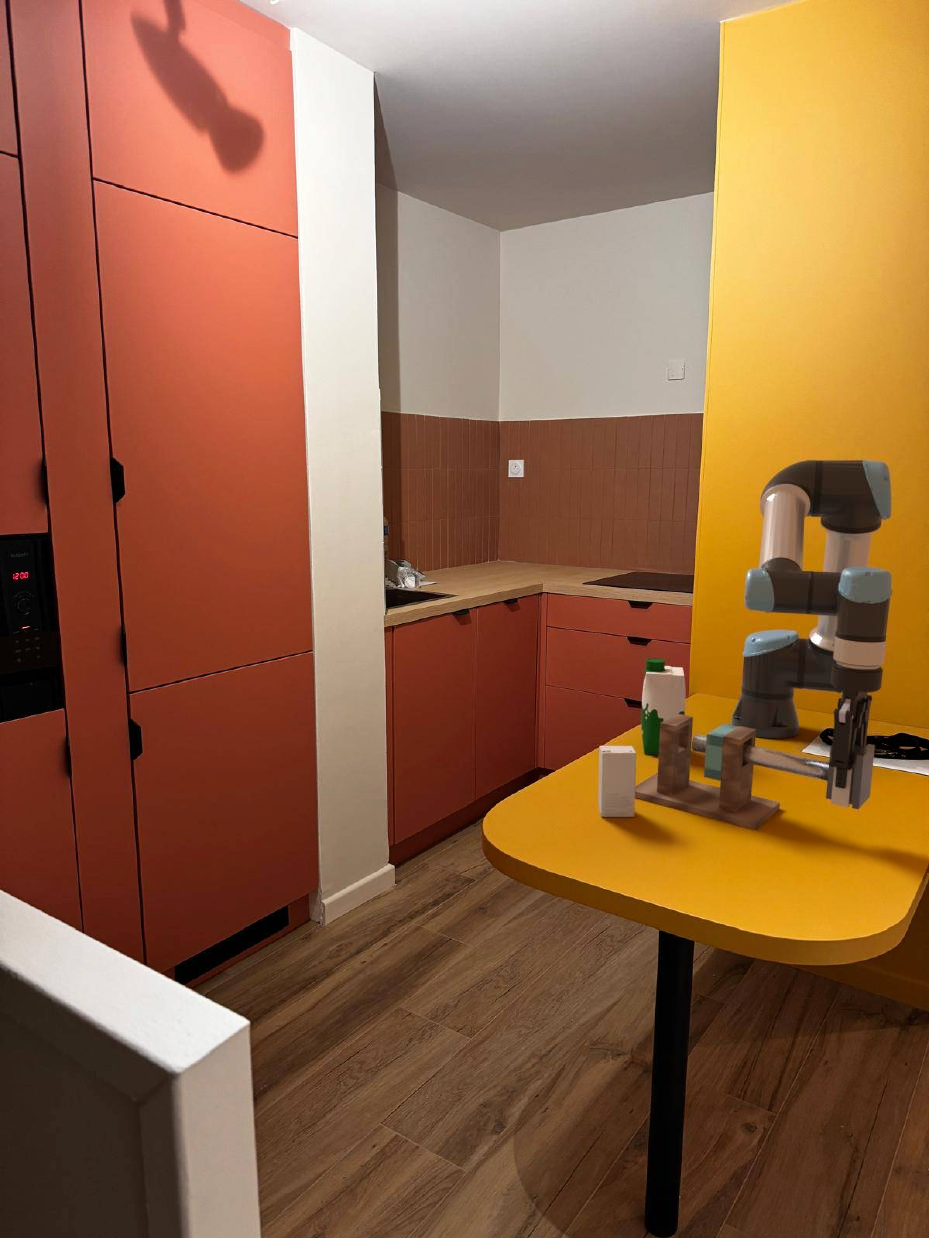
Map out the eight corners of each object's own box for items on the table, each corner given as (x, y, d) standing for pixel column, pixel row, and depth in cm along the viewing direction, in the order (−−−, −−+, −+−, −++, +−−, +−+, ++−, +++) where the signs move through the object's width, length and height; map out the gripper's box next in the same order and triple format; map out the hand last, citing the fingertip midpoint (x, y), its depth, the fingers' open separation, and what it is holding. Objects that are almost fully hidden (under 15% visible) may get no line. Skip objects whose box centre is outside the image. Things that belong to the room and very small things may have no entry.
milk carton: (639, 742, 194) (644, 655, 190) (681, 745, 192) (686, 657, 189) (639, 755, 186) (644, 664, 182) (683, 758, 184) (688, 666, 180)
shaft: (686, 768, 158) (688, 720, 156) (701, 758, 163) (704, 712, 162) (858, 809, 140) (863, 756, 138) (869, 796, 145) (874, 745, 144)
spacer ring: (704, 776, 155) (706, 734, 154) (721, 765, 161) (724, 723, 160) (720, 780, 153) (723, 737, 152) (737, 768, 160) (740, 726, 158)
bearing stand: (629, 795, 163) (632, 721, 160) (657, 778, 172) (661, 707, 170) (755, 829, 148) (761, 748, 146) (779, 808, 158) (785, 731, 155)
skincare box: (630, 808, 157) (633, 744, 155) (635, 818, 153) (638, 752, 150) (596, 808, 157) (598, 744, 155) (599, 818, 153) (602, 752, 151)
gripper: (848, 651, 149) (835, 780, 153) (817, 669, 136) (804, 810, 140) (895, 658, 144) (881, 791, 149) (868, 677, 131) (853, 823, 136)
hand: (844, 800), depth 144 cm, fingers closed on shaft, 4 cm apart
